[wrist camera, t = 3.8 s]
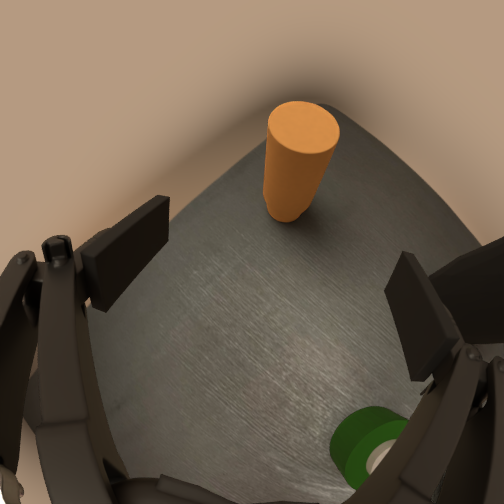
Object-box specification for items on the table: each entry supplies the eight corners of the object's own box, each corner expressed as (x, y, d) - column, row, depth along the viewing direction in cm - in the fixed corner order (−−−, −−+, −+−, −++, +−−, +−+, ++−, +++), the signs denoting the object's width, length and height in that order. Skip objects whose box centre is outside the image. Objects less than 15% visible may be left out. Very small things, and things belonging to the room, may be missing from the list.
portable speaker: (451, 352, 24) (585, 349, 5) (398, 323, 25) (555, 302, 7) (470, 289, 26) (590, 248, 7) (422, 255, 27) (550, 180, 8)
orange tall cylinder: (263, 227, 28) (270, 152, 16) (261, 186, 29) (265, 99, 17) (309, 226, 28) (346, 155, 16) (304, 186, 29) (332, 103, 17)
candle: (321, 426, 23) (352, 469, 13) (391, 393, 23) (446, 414, 14) (338, 480, 21) (368, 528, 11) (403, 448, 21) (450, 479, 12)
